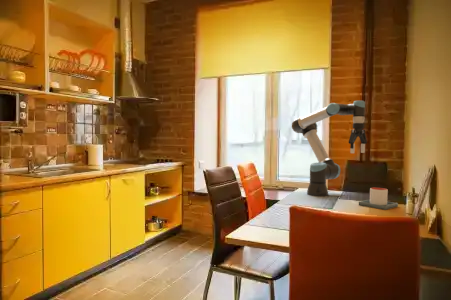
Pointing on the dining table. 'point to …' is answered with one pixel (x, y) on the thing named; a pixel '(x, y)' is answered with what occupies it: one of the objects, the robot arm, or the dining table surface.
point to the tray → (368, 204)
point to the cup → (378, 196)
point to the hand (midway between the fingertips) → (357, 153)
